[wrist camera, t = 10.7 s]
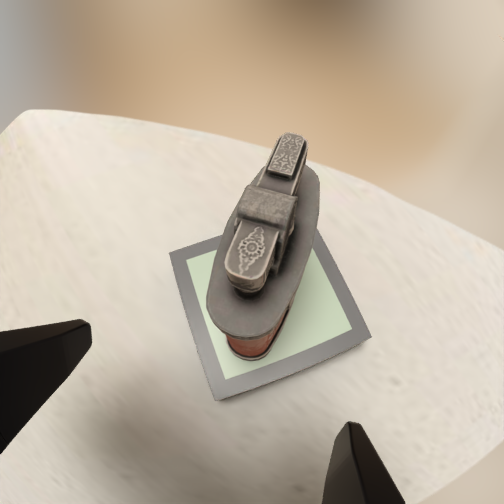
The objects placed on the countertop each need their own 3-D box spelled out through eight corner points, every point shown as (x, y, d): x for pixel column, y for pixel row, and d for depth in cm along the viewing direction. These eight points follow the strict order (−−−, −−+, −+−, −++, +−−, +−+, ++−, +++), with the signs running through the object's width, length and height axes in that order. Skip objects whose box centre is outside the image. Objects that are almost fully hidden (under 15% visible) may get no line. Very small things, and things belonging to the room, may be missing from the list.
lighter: (271, 369, 16) (289, 335, 7) (215, 350, 16) (163, 292, 7) (309, 248, 19) (343, 128, 10) (259, 234, 20) (260, 108, 11)
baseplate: (361, 342, 18) (372, 336, 16) (219, 400, 17) (214, 400, 15) (302, 223, 23) (305, 207, 21) (176, 265, 21) (168, 252, 19)
